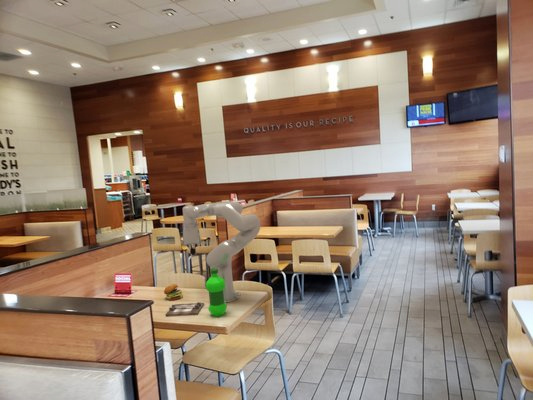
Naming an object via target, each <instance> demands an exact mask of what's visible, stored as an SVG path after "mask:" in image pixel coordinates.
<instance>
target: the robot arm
mask: <svg viewBox="0 0 533 400" xmlns="http://www.w3.org/2000/svg"><path fill="white" fill-rule="evenodd" d="M242 212H243V206H242V204H241V203H240V202H238V201H229V202H217V203H204V204H198V205H185V206H183V207H182V216H183V226H184V228H183V231H182V240H183V242H182V243H183V246H184V247H186V248H189V252H190V255H191V256H195V255H196V251H197V250H196V248H197V247H198V246H200V245H201V244H202V242H201V233H200V229H199V227H198V226H199V223H197V219H199V218H204V217H211V216H215V217H216V218H224V219H225V220H226V222H228V223H229V224H230V225H231V226H232V227H233V228H235V229H236V231H238V233H237V234H236V235H235V236H233V237H232V238H231V237H230V238H229V239H226V240H223V241H222V242H221V243H219V244H218V245H217V246H215V247H214V248H213V249H211V251H210V252H209V253H208V254H207V256H206V260H205V261H206V264H207V265H208V266H209V267H210V268H212V269H218V273H217V274H218V276H219V277H221V278H222V279H224V281H225V288H224V289H223V291H224V302H225V303H226V304H227V303H231V302H234V301H235V300H237V297H241V296H242V293H241V292H240V291H239V292H236V290H235V289H234V282H233V269H232V263H233V257H234V256H235V255H237V254H239V253H240V252H241V250H243V249H244V248H246V246H247V245H249V244H250V243H251V242H252V241H254V239H256V237H257V236H258V234H259V232H260V230H261V220H260V217H258V215H256V214H253V213H250V214H245V215H242Z"/></svg>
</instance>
